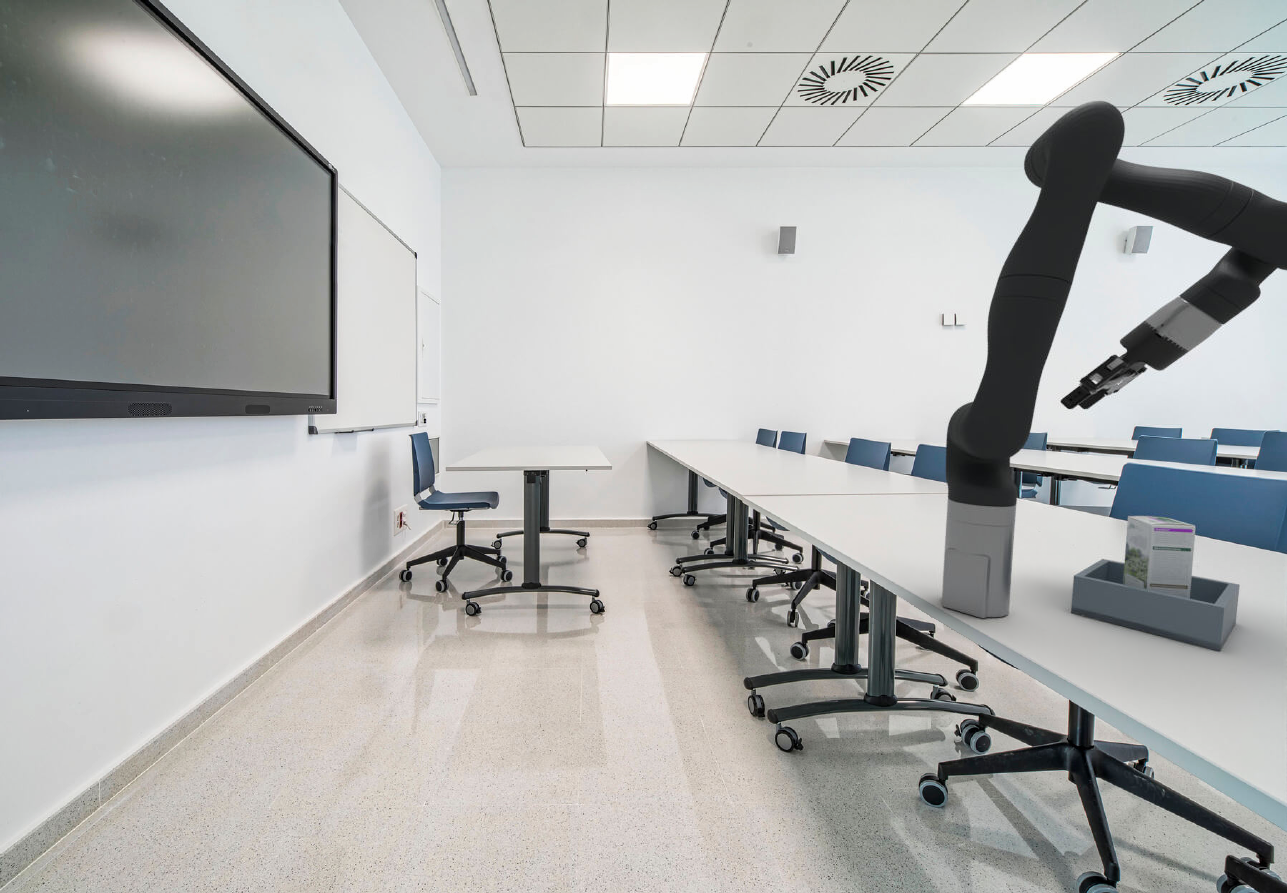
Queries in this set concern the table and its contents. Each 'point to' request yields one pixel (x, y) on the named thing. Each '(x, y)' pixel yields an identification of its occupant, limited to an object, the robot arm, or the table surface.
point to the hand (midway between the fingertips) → (1072, 405)
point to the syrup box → (1159, 555)
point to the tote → (1157, 606)
